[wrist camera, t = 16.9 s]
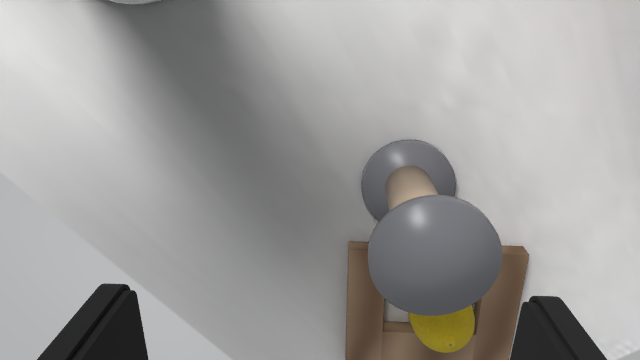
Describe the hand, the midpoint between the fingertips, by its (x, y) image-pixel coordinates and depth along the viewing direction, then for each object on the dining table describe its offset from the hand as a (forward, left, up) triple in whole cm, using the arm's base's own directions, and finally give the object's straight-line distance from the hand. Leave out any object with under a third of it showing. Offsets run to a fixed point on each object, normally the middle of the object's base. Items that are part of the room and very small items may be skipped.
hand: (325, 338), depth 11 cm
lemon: (+9, -17, -28) cm, 34 cm away
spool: (+6, -7, -28) cm, 29 cm away
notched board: (+9, -20, -28) cm, 35 cm away
